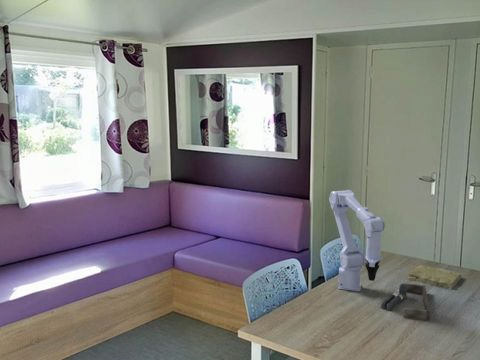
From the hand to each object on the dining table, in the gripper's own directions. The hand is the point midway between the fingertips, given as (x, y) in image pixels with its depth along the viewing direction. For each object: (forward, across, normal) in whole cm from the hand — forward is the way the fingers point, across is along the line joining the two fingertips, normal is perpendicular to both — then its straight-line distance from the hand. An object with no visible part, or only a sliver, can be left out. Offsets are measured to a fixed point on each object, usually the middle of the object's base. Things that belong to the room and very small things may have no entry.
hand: (372, 278), depth 205 cm
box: (+9, 0, -18) cm, 20 cm away
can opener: (+10, 0, -9) cm, 14 cm away
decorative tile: (+10, +33, -27) cm, 44 cm away
